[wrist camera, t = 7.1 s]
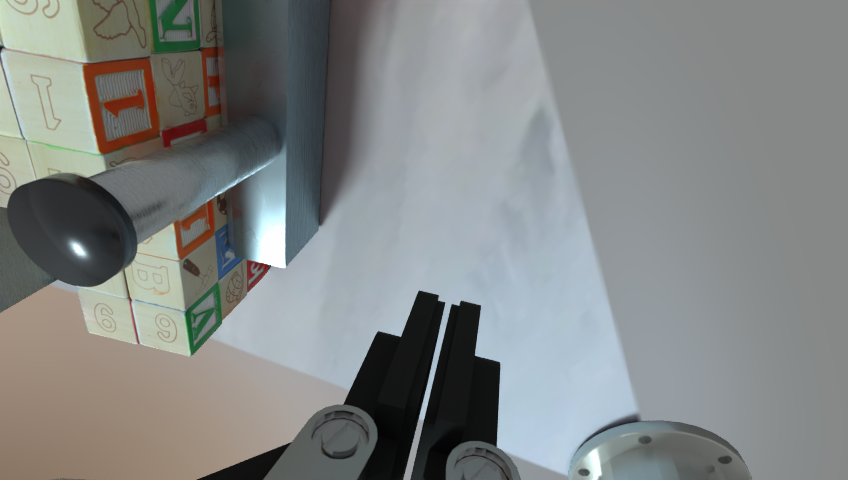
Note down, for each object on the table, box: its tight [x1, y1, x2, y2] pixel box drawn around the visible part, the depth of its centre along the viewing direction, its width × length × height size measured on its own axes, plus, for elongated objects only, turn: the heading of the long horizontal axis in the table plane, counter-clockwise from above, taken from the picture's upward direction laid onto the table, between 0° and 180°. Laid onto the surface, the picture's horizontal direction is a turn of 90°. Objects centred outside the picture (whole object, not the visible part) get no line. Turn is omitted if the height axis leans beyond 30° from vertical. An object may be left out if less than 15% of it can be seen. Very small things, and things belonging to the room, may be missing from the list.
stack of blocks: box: [0, 0, 268, 356], centre depth 22 cm, size 21×6×12 cm, turn 171°
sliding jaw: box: [7, 0, 330, 287], centre depth 19 cm, size 4×14×16 cm, turn 171°
